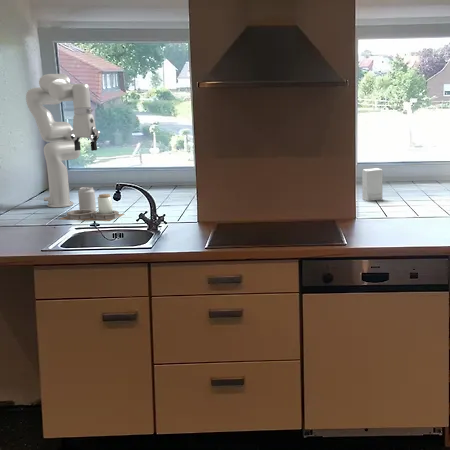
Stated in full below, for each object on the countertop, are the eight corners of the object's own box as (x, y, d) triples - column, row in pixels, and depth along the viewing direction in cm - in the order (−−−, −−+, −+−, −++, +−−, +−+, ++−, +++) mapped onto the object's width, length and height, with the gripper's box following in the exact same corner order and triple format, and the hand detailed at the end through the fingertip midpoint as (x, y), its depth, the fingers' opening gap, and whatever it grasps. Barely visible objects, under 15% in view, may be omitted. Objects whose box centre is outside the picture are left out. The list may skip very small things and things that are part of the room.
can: (92, 214, 305) (90, 188, 303) (77, 214, 307) (75, 188, 304) (98, 211, 312) (96, 186, 310) (83, 211, 314) (81, 186, 311)
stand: (58, 221, 291) (57, 214, 291) (75, 215, 305) (74, 208, 305) (109, 223, 284) (109, 216, 283) (125, 216, 298) (124, 209, 297)
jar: (96, 218, 291) (95, 195, 288) (103, 215, 296) (101, 193, 294) (109, 218, 289) (107, 196, 287) (115, 216, 294) (113, 193, 292)
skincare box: (377, 197, 325) (377, 167, 322) (383, 200, 319) (383, 169, 316) (361, 199, 323) (361, 168, 320) (366, 201, 318) (367, 170, 314)
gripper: (103, 111, 296) (106, 149, 300) (73, 112, 305) (77, 149, 308) (91, 111, 290) (95, 151, 293) (62, 112, 299) (65, 151, 302)
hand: (85, 150), depth 301 cm, fingers open, 9 cm apart
